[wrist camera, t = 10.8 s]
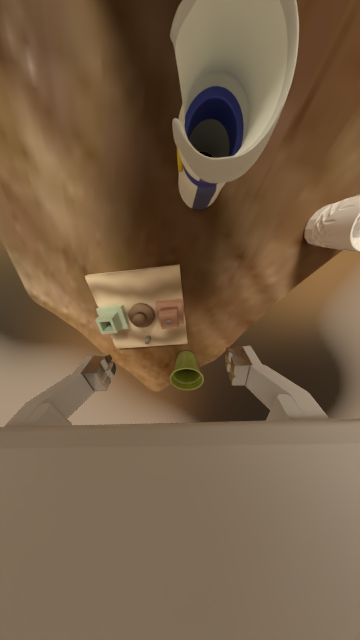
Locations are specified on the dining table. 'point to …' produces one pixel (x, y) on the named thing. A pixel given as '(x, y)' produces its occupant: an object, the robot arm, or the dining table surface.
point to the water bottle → (229, 87)
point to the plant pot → (186, 372)
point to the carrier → (144, 304)
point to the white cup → (336, 226)
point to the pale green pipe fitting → (112, 319)
